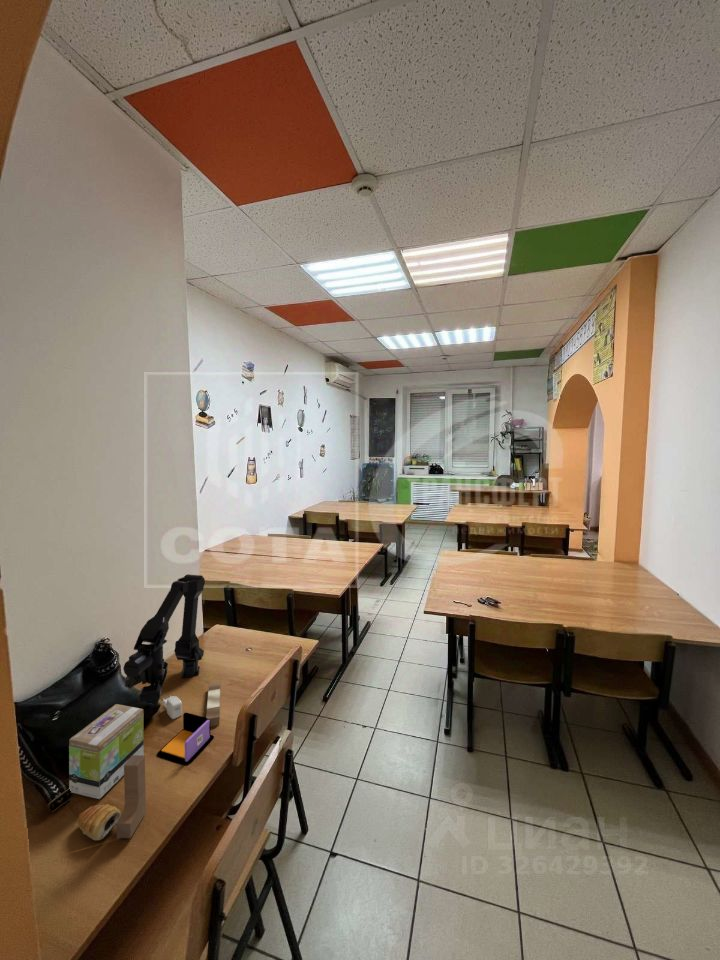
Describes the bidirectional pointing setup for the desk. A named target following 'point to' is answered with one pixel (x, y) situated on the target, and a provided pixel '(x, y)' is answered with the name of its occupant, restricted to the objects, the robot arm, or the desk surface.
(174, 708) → the power adapter
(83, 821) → the pastry
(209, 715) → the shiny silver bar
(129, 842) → the desk surface
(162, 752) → the business card holder
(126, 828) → the wooden block
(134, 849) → the desk surface
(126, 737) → the tea box
